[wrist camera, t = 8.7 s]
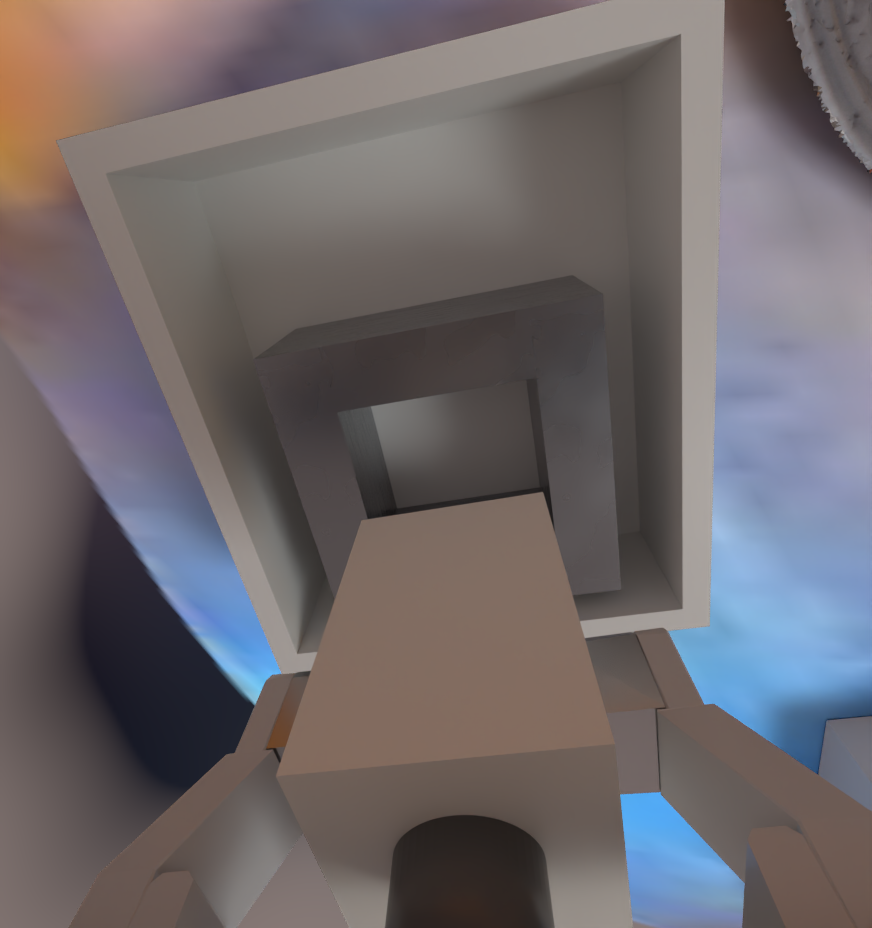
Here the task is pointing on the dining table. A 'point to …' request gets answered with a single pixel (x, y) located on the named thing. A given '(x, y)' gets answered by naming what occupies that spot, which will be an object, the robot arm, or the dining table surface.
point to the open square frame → (849, 757)
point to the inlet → (445, 371)
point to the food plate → (839, 64)
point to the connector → (459, 732)
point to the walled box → (439, 274)
